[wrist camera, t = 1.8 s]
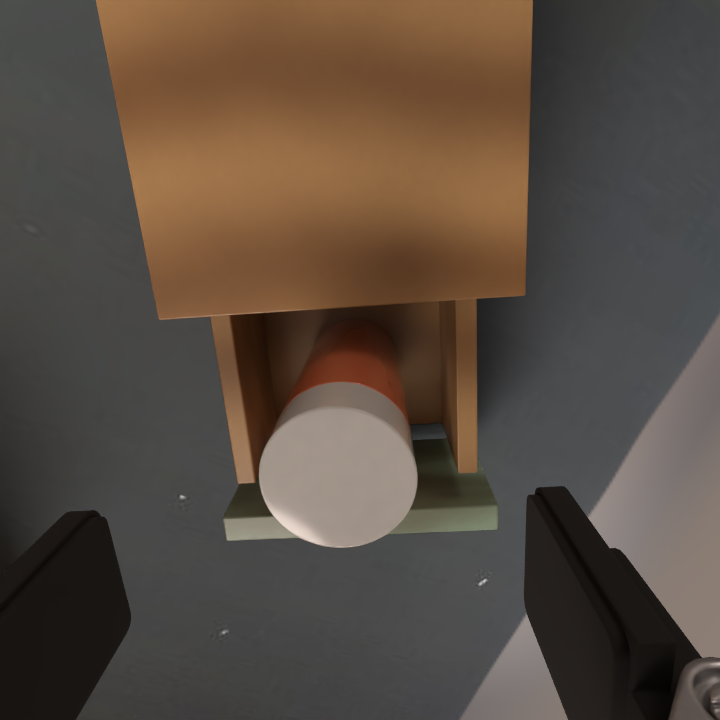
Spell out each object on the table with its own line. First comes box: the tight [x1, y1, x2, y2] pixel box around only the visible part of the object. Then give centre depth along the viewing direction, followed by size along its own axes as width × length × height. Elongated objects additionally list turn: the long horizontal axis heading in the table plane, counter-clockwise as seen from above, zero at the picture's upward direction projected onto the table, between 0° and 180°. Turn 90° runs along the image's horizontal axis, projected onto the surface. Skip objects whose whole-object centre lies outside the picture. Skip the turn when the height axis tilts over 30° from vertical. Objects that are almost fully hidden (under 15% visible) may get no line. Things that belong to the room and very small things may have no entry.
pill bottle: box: [259, 319, 418, 548], centre depth 19 cm, size 4×4×11 cm
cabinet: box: [96, 0, 533, 320], centre depth 19 cm, size 14×13×8 cm
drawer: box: [210, 299, 498, 541], centre depth 22 cm, size 14×12×6 cm
